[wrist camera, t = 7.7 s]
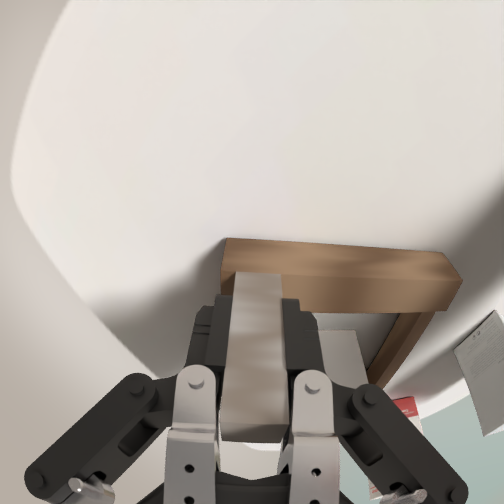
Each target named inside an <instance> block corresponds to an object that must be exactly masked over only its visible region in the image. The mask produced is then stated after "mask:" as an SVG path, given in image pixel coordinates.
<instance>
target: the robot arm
mask: <svg viewBox="0 0 504 504" xmlns="http://www.w3.org/2000/svg"><path fill="white" fill-rule="evenodd" d="M232 303H233V295H216V299H215V304H214V306H203V307H202V308H201V309H200V311H199V312H198V313H197V315H196V319H195V323H194V328H193V333H192V337H191V341H190V346H189V350H188V355H187V360H186V364H185V366H184V368H183V369H182V370H181V371H180V372H179V373H178V374H177V375H175V376H172V377H169V378H164V379H157V380H152V379H151V378H150V377H149V376H147V375H145V374H142V373H133V374H130V375H128V376H126V377H125V378H124V379H123V380H121V381H120V383H118V384H117V385H116V386H115V387H114V388H113V389H112V390H111V391H110V392H109V393H108V394H107V395H105V396H104V397H103V398H102V399H101V400H100V401H99V402H98V403H97V404H96V405H95V406H94V407H92V408H91V410H89V411H88V412H87V413H86V414H85V415H84V416H83V417H82V418H81V419H80V420H78V422H76V423H75V424H74V425H73V426H72V427H71V428H70V429H69V430H68V431H67V432H66V433H64V434H63V435H62V436H61V437H60V438H59V439H58V440H57V441H56V442H55V443H54V444H53V445H51V447H49V448H48V449H47V450H46V451H45V452H44V453H43V454H42V455H41V456H40V457H39V458H37V459H36V460H35V461H34V462H33V463H32V464H31V465H30V466H29V467H28V468H27V469H26V471H25V475H24V480H25V484H26V487H27V489H28V490H29V492H30V493H31V494H32V495H34V496H35V497H37V498H39V499H42V500H45V501H47V502H49V503H51V504H113V503H114V500H115V494H114V490H113V488H112V487H111V485H112V484H113V483H114V482H115V481H116V480H117V479H118V478H119V477H120V476H121V475H122V474H123V473H124V472H125V471H126V470H127V469H128V468H129V467H130V466H131V465H132V464H133V463H134V462H135V461H136V459H137V458H138V457H139V456H140V455H141V454H142V453H143V452H144V451H145V450H146V449H147V448H148V447H149V446H150V445H151V444H152V443H153V441H154V440H155V439H156V438H157V437H158V436H159V435H160V434H161V433H162V432H163V431H164V430H165V429H166V427H171V426H172V427H171V429H170V430H169V432H168V437H167V447H166V462H165V480H164V483H162V484H161V485H159V486H158V487H157V488H156V489H155V490H153V491H152V492H151V493H150V494H148V495H147V496H146V497H145V498H143V499H142V500H141V501H139V502H138V503H137V504H354V503H352V502H351V501H350V500H349V499H348V498H347V497H346V496H345V495H344V494H343V493H342V492H341V491H340V490H339V480H340V470H339V469H340V452H339V451H340V449H339V442H340V443H341V444H342V446H343V447H344V448H345V450H346V451H347V452H348V453H349V455H350V456H351V457H352V458H353V459H354V461H355V462H356V463H357V465H358V466H359V467H360V468H361V470H362V471H363V472H364V473H365V475H366V476H367V477H368V478H369V480H370V481H371V482H372V483H373V484H374V486H375V487H376V488H377V489H378V491H379V492H380V493H381V494H382V495H383V497H382V499H381V501H380V504H465V503H466V500H467V498H468V487H467V485H466V483H465V482H464V481H463V480H462V479H461V477H460V476H459V475H458V474H457V473H456V472H455V471H454V469H453V468H452V467H451V466H450V465H449V464H448V463H447V462H446V461H445V459H444V458H443V457H442V456H441V455H440V454H439V453H438V451H437V450H436V449H435V448H434V447H433V446H432V445H431V444H430V442H429V441H428V440H427V439H426V438H425V437H424V436H423V435H422V433H421V432H420V431H419V430H418V429H417V428H416V427H415V426H414V424H413V423H412V422H411V421H410V420H409V419H408V418H407V417H406V415H405V414H404V413H403V412H402V411H401V410H400V409H399V408H398V406H397V405H396V404H395V403H394V402H393V401H392V400H391V399H390V398H389V396H388V395H387V394H386V393H385V392H384V391H383V390H382V389H381V388H380V387H378V386H377V385H374V384H363V385H360V386H359V387H357V388H356V389H354V388H350V387H345V386H342V385H338V384H336V383H335V382H333V381H332V380H331V379H330V378H329V377H328V376H327V374H326V372H325V369H324V362H323V356H322V350H321V344H320V340H319V332H318V326H317V321H316V319H315V317H314V316H313V315H312V313H311V312H310V311H301V310H300V303H299V299H291V298H282V307H283V322H284V338H285V355H286V371H287V381H288V403H289V426H288V428H287V430H286V432H285V434H284V436H283V438H282V441H281V452H280V458H279V462H278V468H277V475H275V476H271V477H266V478H262V479H257V480H248V479H245V478H241V477H237V476H234V475H230V474H227V473H224V472H221V469H220V450H219V410H220V403H221V396H222V391H223V381H224V372H225V368H226V359H227V349H228V340H229V330H230V321H231V312H232ZM315 476H316V477H315Z"/></svg>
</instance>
